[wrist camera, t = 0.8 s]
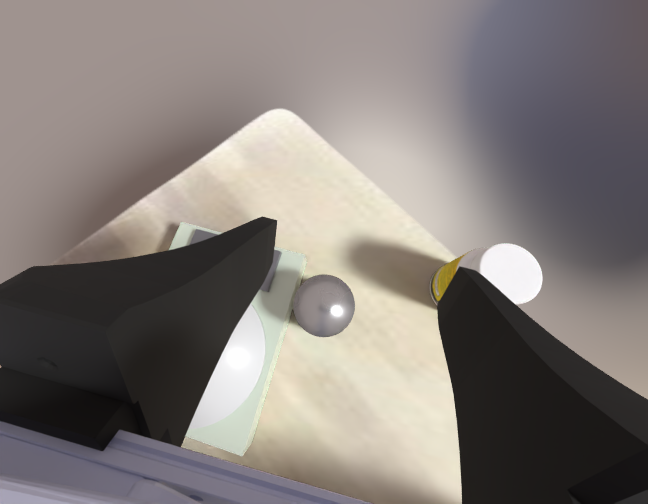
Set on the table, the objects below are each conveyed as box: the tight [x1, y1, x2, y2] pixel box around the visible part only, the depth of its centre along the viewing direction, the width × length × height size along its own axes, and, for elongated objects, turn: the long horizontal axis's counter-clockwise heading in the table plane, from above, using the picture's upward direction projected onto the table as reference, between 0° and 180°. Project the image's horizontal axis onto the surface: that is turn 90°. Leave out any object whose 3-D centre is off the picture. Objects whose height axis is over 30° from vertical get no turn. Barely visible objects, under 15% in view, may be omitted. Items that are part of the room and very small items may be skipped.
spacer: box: [293, 275, 355, 337], centre depth 23 cm, size 4×4×6 cm
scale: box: [169, 222, 307, 456], centre depth 24 cm, size 16×12×3 cm
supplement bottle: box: [430, 243, 542, 305], centre depth 22 cm, size 5×5×8 cm
